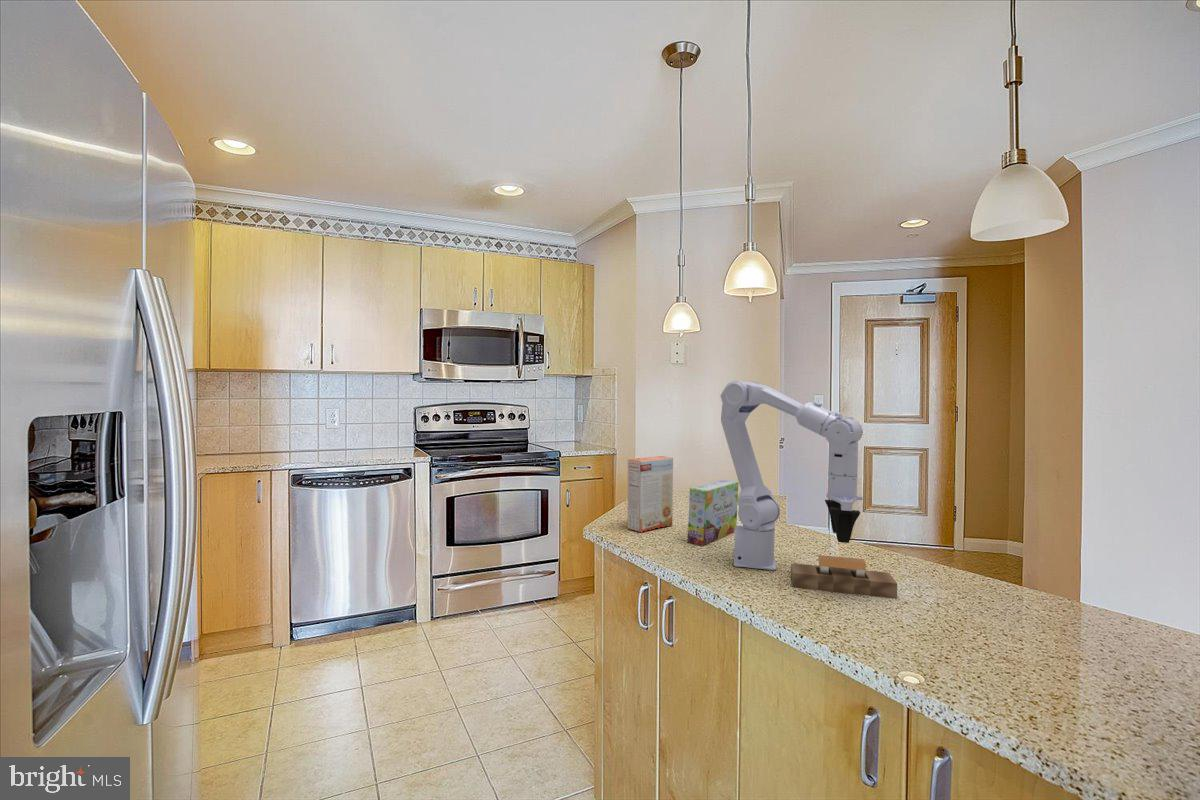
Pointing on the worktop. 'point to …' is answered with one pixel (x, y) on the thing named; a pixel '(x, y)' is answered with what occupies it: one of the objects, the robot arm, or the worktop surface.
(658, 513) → the cracker box
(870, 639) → the worktop surface
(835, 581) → the brown wooden peg board
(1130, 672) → the worktop surface
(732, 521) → the snack box
